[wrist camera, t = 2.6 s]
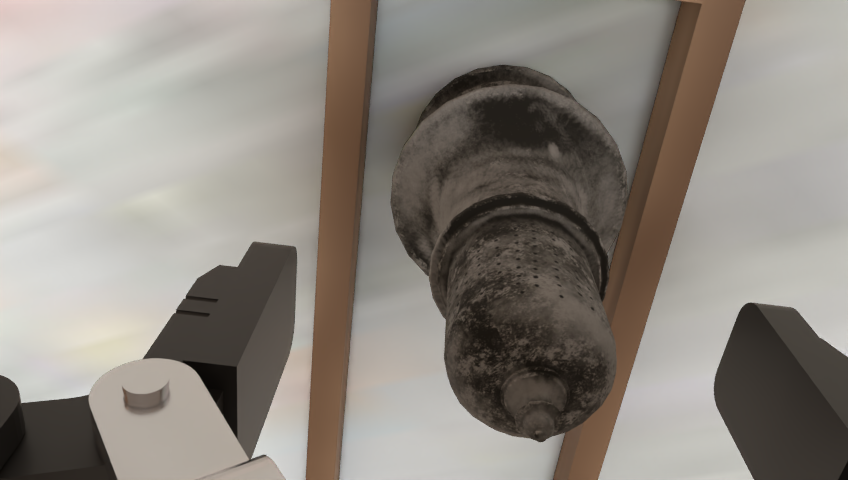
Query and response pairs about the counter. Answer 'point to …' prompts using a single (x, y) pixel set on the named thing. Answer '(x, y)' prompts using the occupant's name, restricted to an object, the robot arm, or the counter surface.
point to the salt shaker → (516, 245)
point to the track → (636, 246)
